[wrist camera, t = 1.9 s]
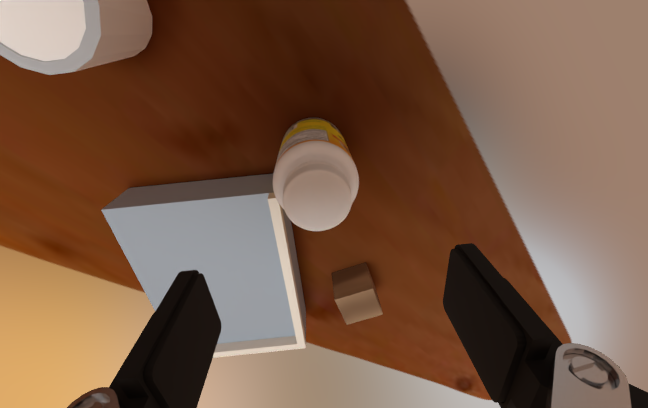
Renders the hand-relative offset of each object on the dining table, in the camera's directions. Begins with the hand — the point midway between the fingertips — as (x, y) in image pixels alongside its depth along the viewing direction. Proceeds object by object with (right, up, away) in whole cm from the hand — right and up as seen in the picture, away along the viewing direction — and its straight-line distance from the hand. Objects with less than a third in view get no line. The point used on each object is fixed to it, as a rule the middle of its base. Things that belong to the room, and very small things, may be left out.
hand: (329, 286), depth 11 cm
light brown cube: (+3, -5, +22) cm, 23 cm away
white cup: (-15, +17, +9) cm, 24 cm away
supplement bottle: (-1, +8, +14) cm, 17 cm away
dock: (-10, -3, +19) cm, 22 cm away
